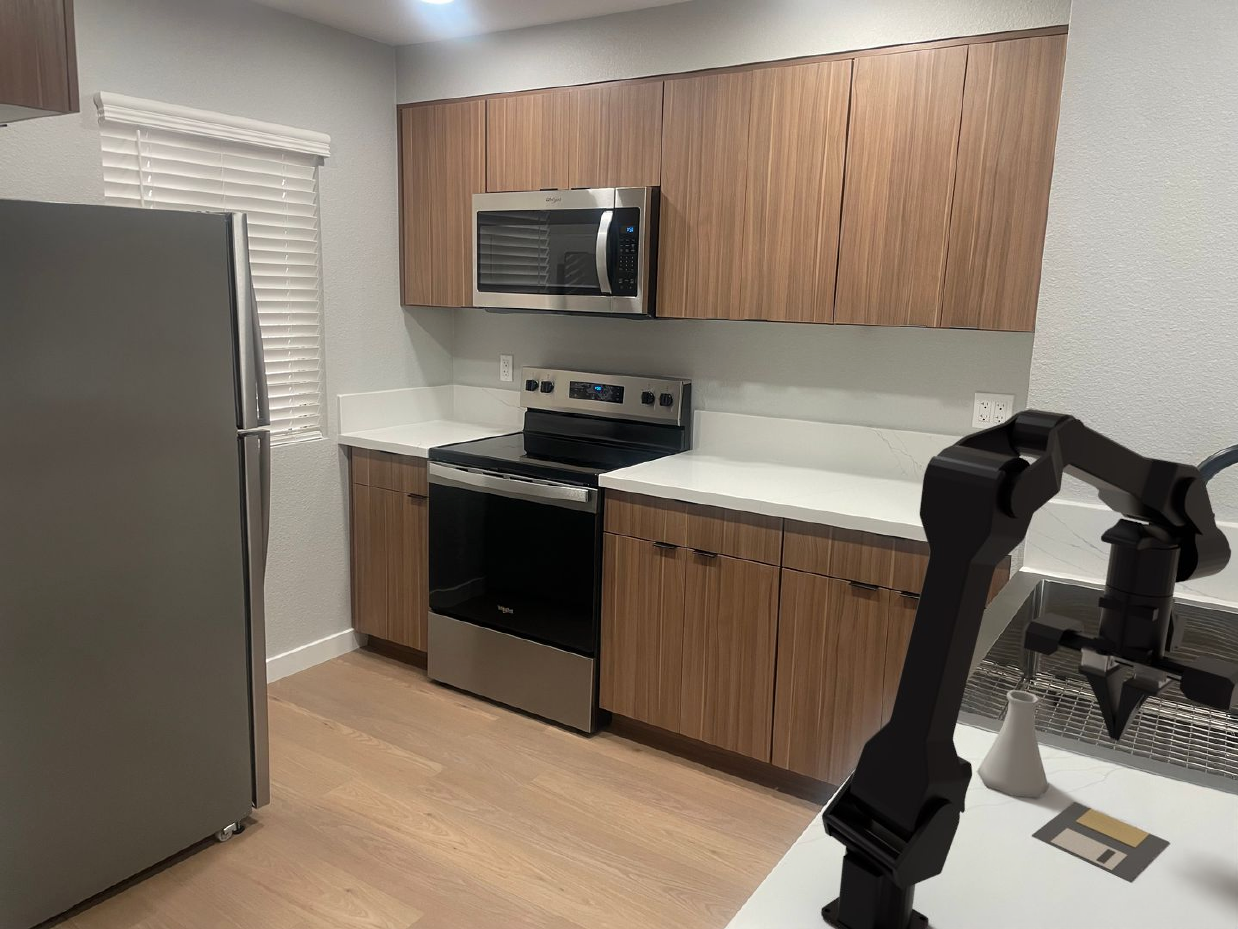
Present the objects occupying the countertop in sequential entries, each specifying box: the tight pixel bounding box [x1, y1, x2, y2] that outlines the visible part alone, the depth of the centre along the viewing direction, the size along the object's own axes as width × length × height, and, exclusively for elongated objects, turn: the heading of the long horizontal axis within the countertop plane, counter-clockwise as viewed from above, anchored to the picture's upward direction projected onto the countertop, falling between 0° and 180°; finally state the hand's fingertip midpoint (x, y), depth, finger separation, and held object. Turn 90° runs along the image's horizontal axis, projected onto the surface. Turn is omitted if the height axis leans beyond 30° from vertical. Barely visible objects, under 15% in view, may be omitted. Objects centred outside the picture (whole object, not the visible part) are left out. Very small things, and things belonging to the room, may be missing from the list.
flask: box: [976, 689, 1049, 798], centre depth 98 cm, size 7×7×10 cm
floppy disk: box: [1031, 801, 1170, 882], centre depth 89 cm, size 10×9×1 cm
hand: (1116, 738), depth 90 cm, fingers closed
